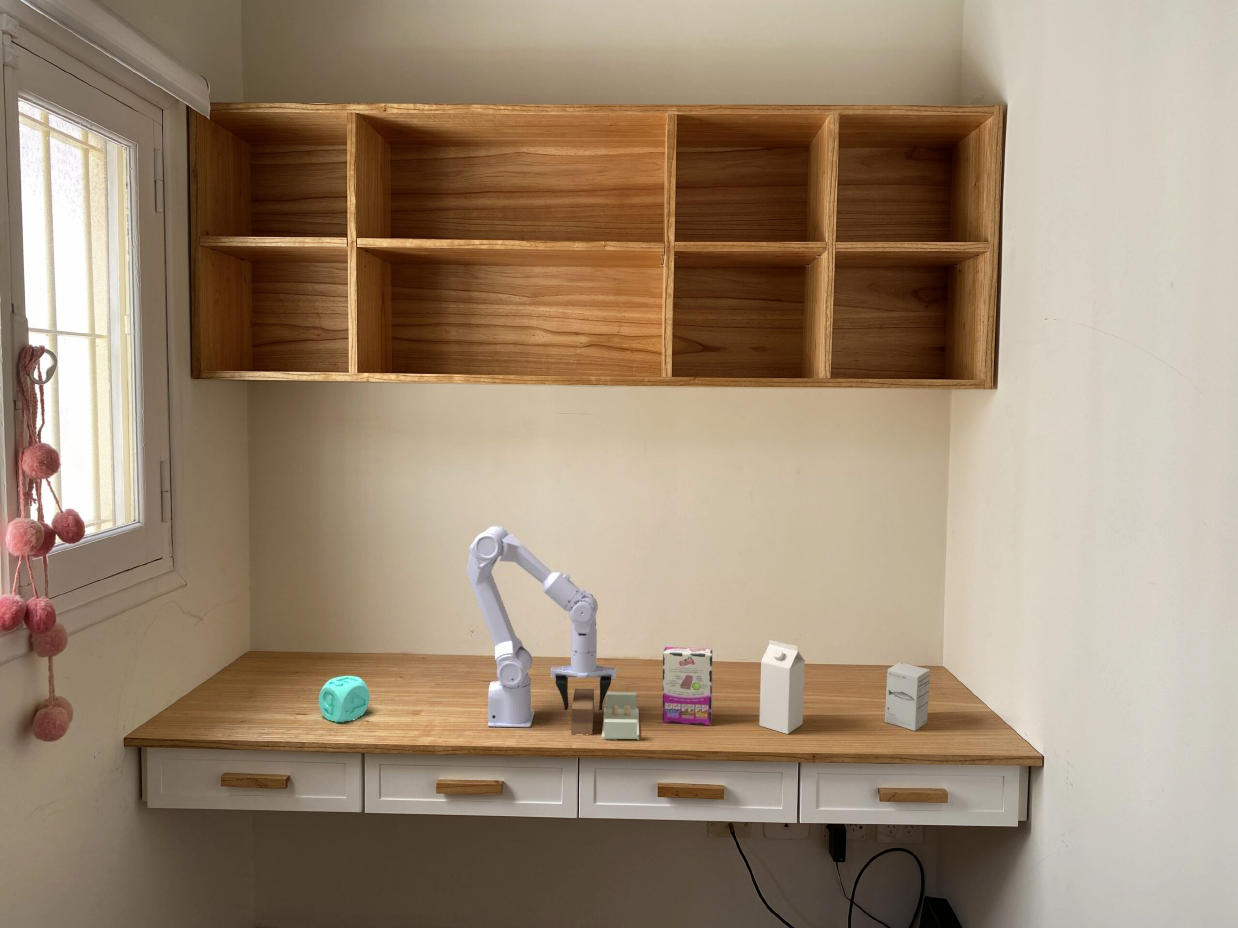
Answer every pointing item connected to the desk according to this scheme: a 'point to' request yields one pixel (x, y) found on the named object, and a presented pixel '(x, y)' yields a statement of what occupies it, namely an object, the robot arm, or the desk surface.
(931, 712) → the desk surface
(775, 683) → the milk carton
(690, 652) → the candy bar box
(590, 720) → the brown rectangular block
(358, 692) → the decorative dice
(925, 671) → the supplement box
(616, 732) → the peg frame
